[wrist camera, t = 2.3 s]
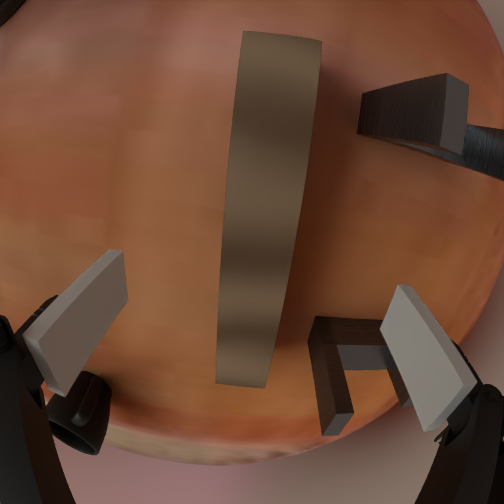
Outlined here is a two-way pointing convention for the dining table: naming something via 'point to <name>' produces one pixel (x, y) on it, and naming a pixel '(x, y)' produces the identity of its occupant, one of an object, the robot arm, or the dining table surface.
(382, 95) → the bracket
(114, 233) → the dining table surface
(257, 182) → the rail
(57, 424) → the mug
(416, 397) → the robot arm
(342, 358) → the bracket
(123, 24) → the dining table surface
